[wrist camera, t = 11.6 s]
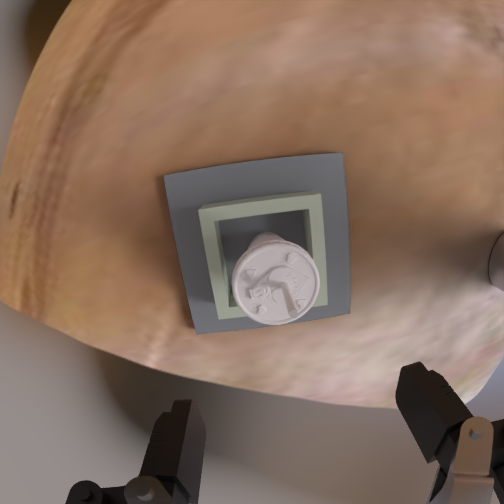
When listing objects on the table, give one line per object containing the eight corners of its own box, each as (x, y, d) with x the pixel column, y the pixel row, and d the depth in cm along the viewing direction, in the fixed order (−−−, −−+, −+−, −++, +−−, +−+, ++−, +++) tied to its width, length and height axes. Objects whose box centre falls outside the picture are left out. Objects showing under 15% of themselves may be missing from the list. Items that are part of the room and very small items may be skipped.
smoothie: (304, 270, 30) (343, 345, 17) (245, 285, 31) (245, 370, 17) (290, 211, 29) (328, 250, 15) (228, 228, 29) (212, 280, 15)
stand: (338, 153, 28) (354, 151, 24) (347, 308, 33) (360, 328, 29) (166, 175, 28) (152, 176, 24) (197, 328, 33) (191, 351, 29)
